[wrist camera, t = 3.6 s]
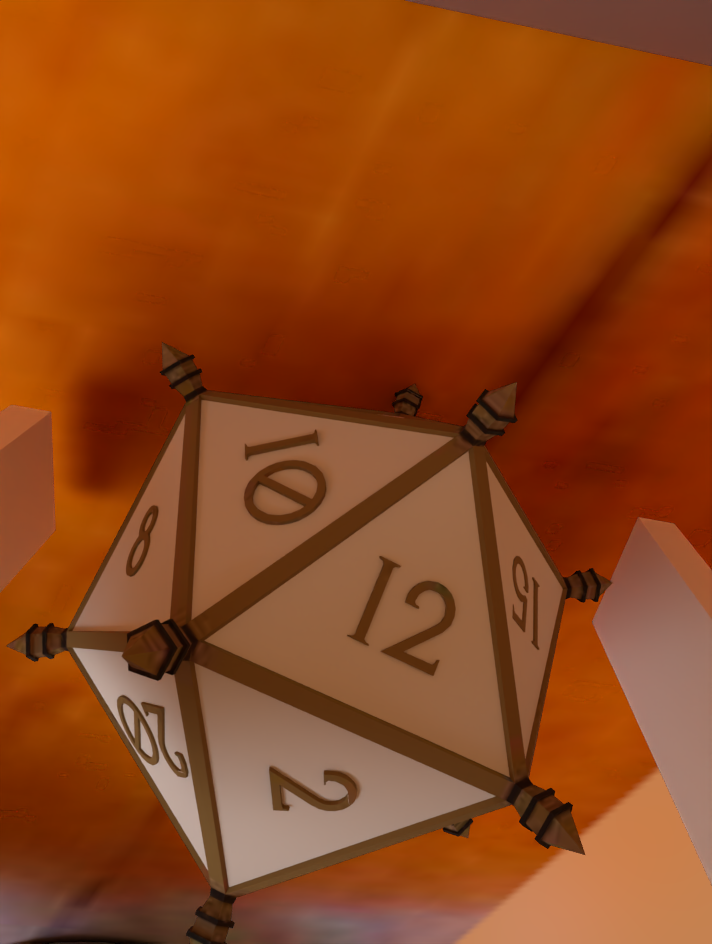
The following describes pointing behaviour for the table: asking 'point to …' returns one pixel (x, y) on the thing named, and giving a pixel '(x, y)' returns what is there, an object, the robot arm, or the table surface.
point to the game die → (323, 634)
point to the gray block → (609, 21)
